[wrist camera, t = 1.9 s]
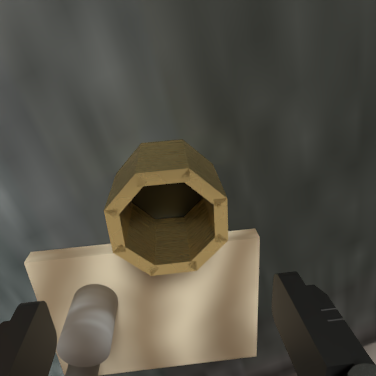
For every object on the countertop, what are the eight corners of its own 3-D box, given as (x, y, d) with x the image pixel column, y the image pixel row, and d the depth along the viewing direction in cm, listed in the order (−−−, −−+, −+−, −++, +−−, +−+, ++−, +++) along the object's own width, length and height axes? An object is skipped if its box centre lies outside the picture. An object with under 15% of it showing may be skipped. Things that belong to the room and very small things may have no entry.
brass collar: (211, 136, 20) (226, 164, 15) (214, 222, 22) (228, 267, 18) (111, 145, 19) (96, 177, 15) (126, 231, 22) (118, 279, 18)
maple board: (255, 228, 23) (300, 317, 15) (252, 343, 28) (286, 453, 20) (30, 252, 22) (-35, 357, 15) (69, 366, 27) (35, 487, 20)
